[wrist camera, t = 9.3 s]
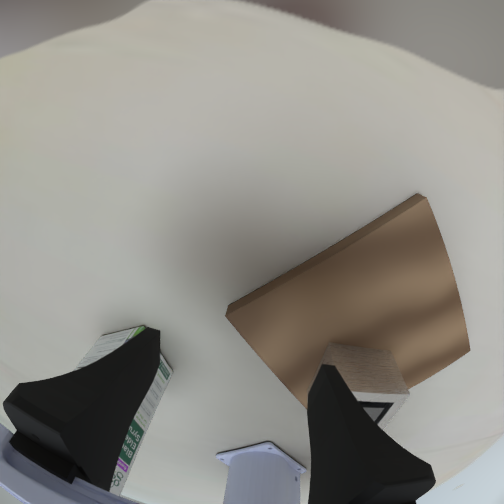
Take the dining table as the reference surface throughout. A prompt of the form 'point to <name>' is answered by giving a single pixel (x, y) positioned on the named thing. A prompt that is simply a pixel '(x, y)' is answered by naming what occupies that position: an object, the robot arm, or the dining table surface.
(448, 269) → the board
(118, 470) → the syrup box
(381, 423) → the cube with square recess
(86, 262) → the dining table surface
